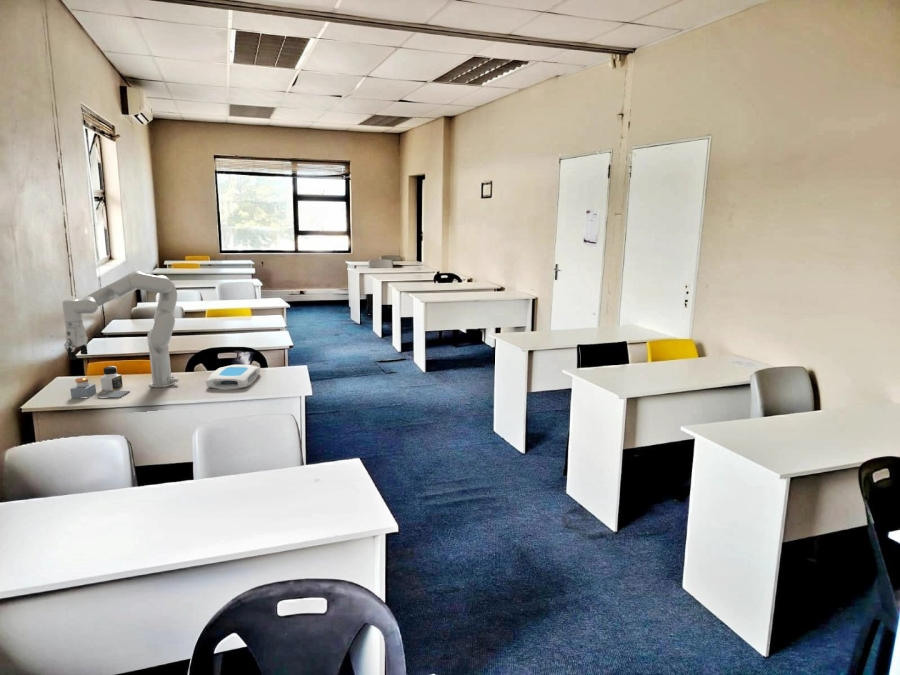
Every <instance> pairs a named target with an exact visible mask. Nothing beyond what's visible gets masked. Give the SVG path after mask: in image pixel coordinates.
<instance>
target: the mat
mask: <svg viewBox="0 0 900 675" xmlns="http://www.w3.org/2000/svg"><path fill="white" fill-rule="evenodd" d="M129 393H130V394H131V392H130V390H114V391H108V390H106V392H104V393H102V394H101V395H99V396H98V397H108V398H120V399H122V398H123V397H125V396H127V395H128V394H129ZM124 395H125V396H124ZM122 396H123V397H122ZM108 398H107V399H108Z"/></svg>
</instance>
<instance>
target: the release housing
mask: <svg viewBox="0 0 900 675" xmlns="http://www.w3.org/2000/svg"><path fill="white" fill-rule="evenodd" d="M69 389H70V397H71V399H82V398H81V397H89V396H90V397H92V396H94V395H96V394H97V388H96V384H95V383H88V386H87V387H85V388H77V385H74V386H73V387H70V388H69ZM95 393H96V394H95ZM93 394H94V395H93ZM91 395H92V396H91ZM90 397H89V398H90Z"/></svg>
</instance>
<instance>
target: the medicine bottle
mask: <svg viewBox="0 0 900 675" xmlns="http://www.w3.org/2000/svg"><path fill="white" fill-rule="evenodd" d="M100 384H101V390H102V391H118V390H119V389H121V388H123V387H124V386H123V378H122V374H118V369H117V366H114V365H110V366H105V367H104V368H103V376H100Z"/></svg>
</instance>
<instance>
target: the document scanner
mask: <svg viewBox="0 0 900 675" xmlns="http://www.w3.org/2000/svg"><path fill="white" fill-rule="evenodd" d="M259 374H261V368H260V366H257V365H252V364H231V365H227V366H223V367H222V366H221V367H219V368H217V369H216V370H215V371H213V372H212V373H211V374H210V375H209V376H208V378H207V379H206V381H205V384H206V387H207V388H212V389H216V390H236V389H237V390H238V389H243V388H246V387H249V386H250V385H252V384H253V383H254V382H255V381H256V379H257V378H258V377H259ZM225 381H233V382H237V384H223V382H225Z"/></svg>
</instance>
